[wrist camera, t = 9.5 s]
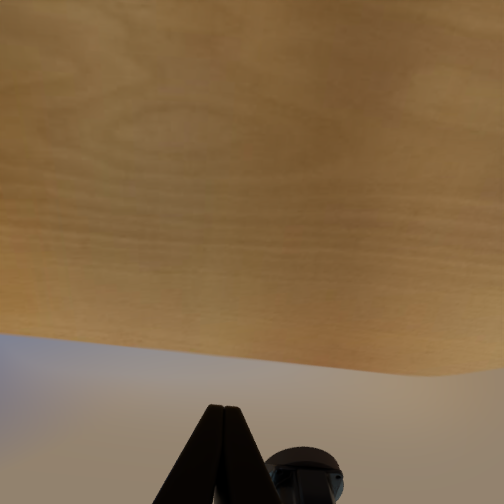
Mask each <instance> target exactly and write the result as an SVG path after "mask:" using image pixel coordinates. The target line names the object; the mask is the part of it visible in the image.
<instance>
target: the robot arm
mask: <svg viewBox="0 0 504 504" xmlns="http://www.w3.org/2000/svg"><path fill="white" fill-rule="evenodd" d="M342 479H343V473H342V471H341V470H339V469H329V468H317V467H305V466H292V465H276V466H275V467H274V469H273V473H272V476H270V474H269V472H268V470H267V468H266V465H265V463H264V461H263V459H262V456H261V454H260V452H259V450H258V448H257V445H256V443H255V441H254V439H253V436H252V434H251V432H250V429H249V427H248V425H247V423H246V420H245V418H244V416H243V414H242V412H241V409H240V408H238V407H235V406H225V407H223V406H222V405H213V404H210V405H209V406H208V407H207V409H206V411H205V412H204V414H203V416H202V418H201V419H200V421H199V423H198V424H197V426H196V428H195V430H194V431H193V433H192V435H191V437H190V439H189V440H188V442H187V444H186V445H185V447H184V449H183V451H182V452H181V454H180V456H179V458H178V459H177V461H176V463H175V465H174V466H173V468H172V470H171V472H170V473H169V475H168V477H167V479H166V480H165V482H164V484H163V486H162V488H161V489H160V491H159V493H158V494H157V496H156V498H155V500H154V501H153V503H152V504H212V503H213V498H214V504H336V502H335V497H336V495H337V492H338V490H339V487H340V484H341V482H342Z"/></svg>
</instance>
